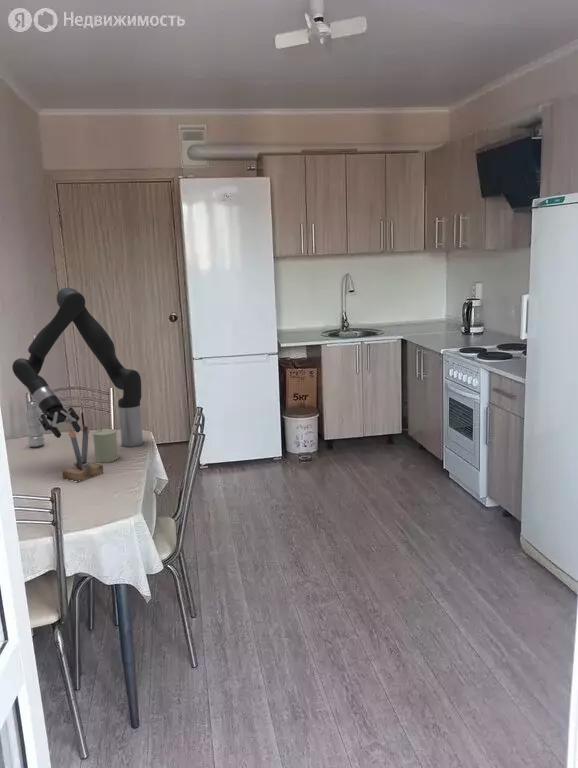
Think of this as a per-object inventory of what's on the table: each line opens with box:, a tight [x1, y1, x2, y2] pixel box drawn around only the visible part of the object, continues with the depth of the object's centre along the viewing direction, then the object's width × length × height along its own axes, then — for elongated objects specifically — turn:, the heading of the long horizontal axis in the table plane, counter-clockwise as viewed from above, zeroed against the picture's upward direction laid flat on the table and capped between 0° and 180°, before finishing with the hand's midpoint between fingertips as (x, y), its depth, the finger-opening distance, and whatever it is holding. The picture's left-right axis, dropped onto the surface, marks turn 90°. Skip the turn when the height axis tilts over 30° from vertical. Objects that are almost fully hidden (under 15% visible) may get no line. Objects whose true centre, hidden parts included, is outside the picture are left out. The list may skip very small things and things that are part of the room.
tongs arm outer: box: [67, 429, 83, 468], centre depth 230 cm, size 1×3×15 cm, turn 57°
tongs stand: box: [61, 461, 104, 482], centre depth 233 cm, size 12×8×5 cm, turn 147°
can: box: [92, 428, 120, 463], centre depth 252 cm, size 9×9×12 cm
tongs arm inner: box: [81, 425, 91, 464], centre depth 233 cm, size 1×3×15 cm, turn 57°
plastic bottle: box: [25, 400, 45, 448], centre depth 272 cm, size 6×7×20 cm
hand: (69, 433), depth 233 cm, fingers open, 8 cm apart
